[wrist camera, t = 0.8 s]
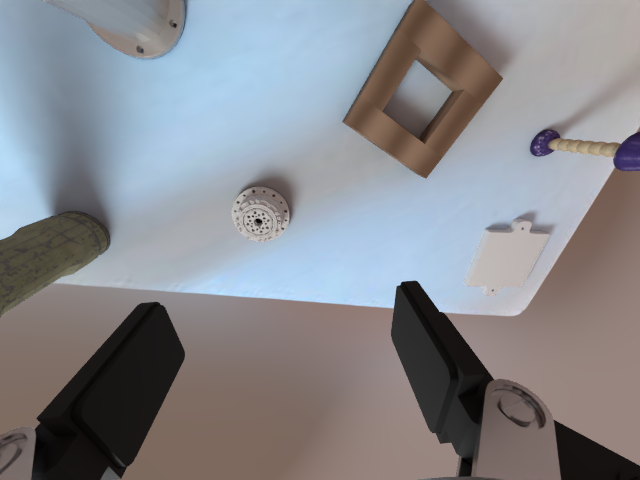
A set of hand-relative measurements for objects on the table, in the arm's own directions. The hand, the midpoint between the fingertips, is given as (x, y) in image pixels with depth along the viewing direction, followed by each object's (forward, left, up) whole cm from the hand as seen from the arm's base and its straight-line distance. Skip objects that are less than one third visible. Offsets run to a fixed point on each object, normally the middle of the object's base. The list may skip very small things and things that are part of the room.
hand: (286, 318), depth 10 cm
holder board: (+10, +18, -34) cm, 39 cm away
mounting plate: (+46, +6, -34) cm, 58 cm away
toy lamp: (+33, +25, -34) cm, 54 cm away
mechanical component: (-2, -10, -34) cm, 35 cm away
